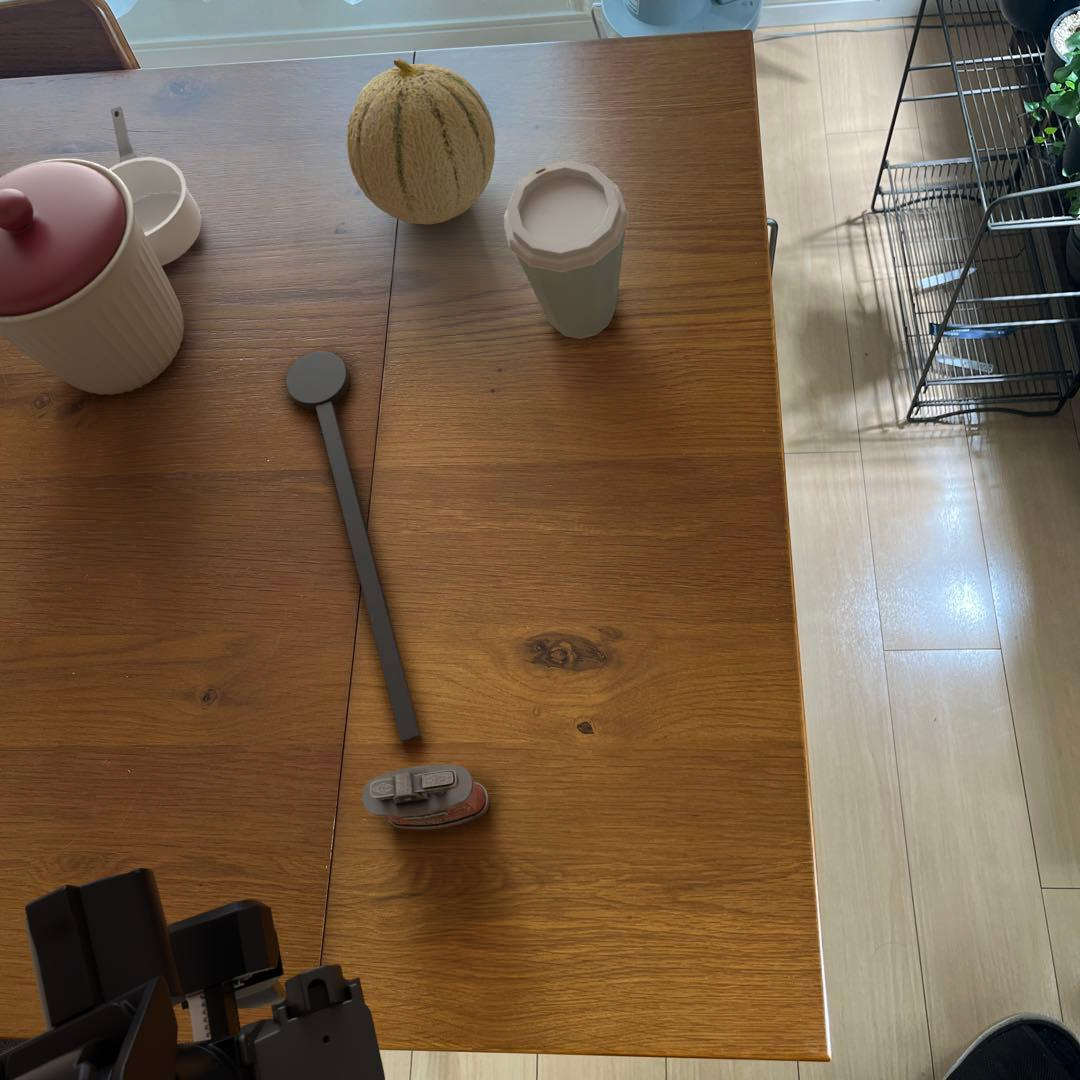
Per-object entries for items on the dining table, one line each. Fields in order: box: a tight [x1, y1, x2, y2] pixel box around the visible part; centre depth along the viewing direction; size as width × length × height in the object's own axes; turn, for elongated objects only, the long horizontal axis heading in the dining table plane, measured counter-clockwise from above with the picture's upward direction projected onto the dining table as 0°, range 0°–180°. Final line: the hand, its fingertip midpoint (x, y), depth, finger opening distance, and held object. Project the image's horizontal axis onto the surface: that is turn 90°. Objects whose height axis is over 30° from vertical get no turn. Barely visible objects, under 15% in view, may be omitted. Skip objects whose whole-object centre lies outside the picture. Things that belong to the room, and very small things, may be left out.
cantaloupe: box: [346, 58, 496, 225], centre depth 95 cm, size 15×15×15 cm
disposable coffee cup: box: [503, 159, 630, 340], centre depth 87 cm, size 11×11×15 cm
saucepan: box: [108, 106, 203, 267], centre depth 104 cm, size 12×20×6 cm, turn 18°
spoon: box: [285, 350, 423, 745], centre depth 86 cm, size 40×6×1 cm, turn 18°
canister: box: [0, 158, 185, 396], centre depth 89 cm, size 18×18×21 cm
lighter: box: [361, 764, 490, 831], centre depth 71 cm, size 8×3×10 cm, turn 97°
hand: (294, 1079), depth 58 cm, fingers open, 9 cm apart
